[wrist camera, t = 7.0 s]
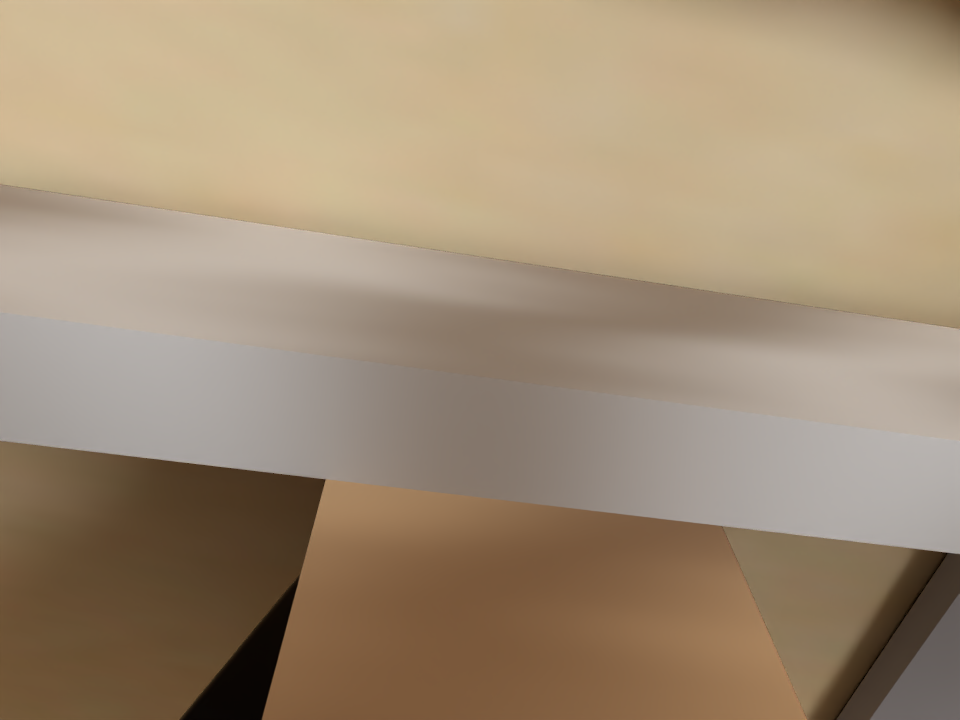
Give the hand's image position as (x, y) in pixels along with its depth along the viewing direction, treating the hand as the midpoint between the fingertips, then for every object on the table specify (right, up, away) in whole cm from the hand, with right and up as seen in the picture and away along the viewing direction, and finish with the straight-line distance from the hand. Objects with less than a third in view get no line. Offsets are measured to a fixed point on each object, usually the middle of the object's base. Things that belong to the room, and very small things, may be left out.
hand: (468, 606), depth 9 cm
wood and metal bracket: (0, 0, +1) cm, 1 cm away
